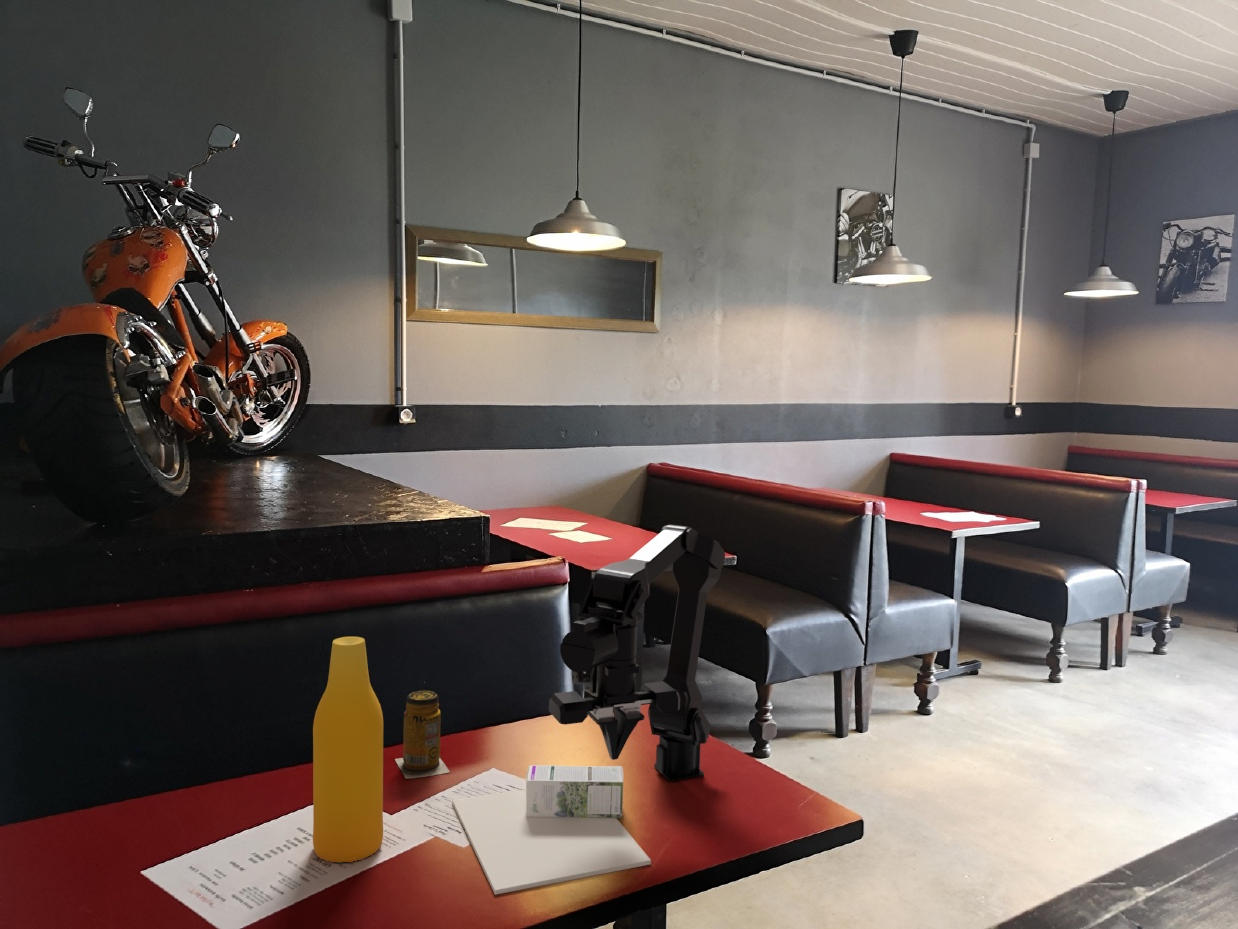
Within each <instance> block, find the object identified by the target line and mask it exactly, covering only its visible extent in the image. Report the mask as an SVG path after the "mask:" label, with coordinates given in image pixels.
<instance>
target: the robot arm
mask: <svg viewBox="0 0 1238 929" xmlns="http://www.w3.org/2000/svg"><path fill="white" fill-rule="evenodd" d="M725 560H726V553H725V550H724V548H723V547H722V546H721V544H720V542H718V541H717V540H713V539H711V538H709V537H707V536H705V535H702V534H701V533H699V532H697V531H696V530H695V529H694V528H692V527H690V526H684V525H677V524H668V525H664V526H662V528H661V529H660V532H659V533H658V534H657V535H656V536H655V537H654V538H652V539H651V540H650V541H649V542H648V543H646V544H645V545H644V546H642V547H641V548H640V549H639V550H638V551H636V552H635V553H634V554H633V555H631V557H629V558H628V559H626V560H622V561H616V562H611V563H609V564H608V565H604V566H603V567H601V568H599V569H598V570H597V571H596V572H595V574H594V576H593V577H592V579H591V581H590V584H589V586H588V588H587V591H586V593H585V596H584V599H583V601H582V602H581V606H580V608H579V610H578V614H577V617H578V618H581V619H583V620H576V621H574V622H573V623H572V630H571V631H569V632H567V633H566V634H565V635H564V637H563V638H562V640H561V643H560V644H559V651H560V652H559V653H560V657H561V659H562V661H563V664H564V665H565V666H566V667H567V668H568V670H571V680H572V684H574V685H577V684H583V689H584V690H588V689H589V692H590V693H591V694H595V696H591V697H582V696H581V694H579V693H578V692H577V691H576V690H573V691H563V692H554V693H553V694H552V695H551V697H550V698H549V700H548V712H549V713H550V714H551V715H552V717H554V719H555V720H556V721H557V722H558V724H560V725H564V726H567V725H572V724H573V725H574V724H580V723H583V722H584V721H585V720H586V719H587V717H589V718H590V719H591V720H592V721H593V722H594V723H595V724H596V725H598V726H599V728H600V731H601V734H602V736H603V739H604V742H605V747H606V749H607V752H608V755H609V758H610V759H611V760H612V761H615V760H618V759H619V756H620V755H621V753H622V751H623V750H624V747H625V745H626V744H627V742H628V739H629V737H630V736H631V734H632V732H633V731H634V729H635V728H636V726H638V723H639V722H641V721H644V720H645V715H644V714H643V713H642V711H641V710H642V706H646V705H649V706H648V710H647V713H648V719H649V725H650V731H651V735H654V736H659V739H658V741H659V742H658V744H657V745H656V748H655V749H656V752H655V753H656V754H655V755H656V757H655V758H656V759H655V763H654V765H653V767H654V768H655V769H656V770H657V771H658V772H659V773H660V774H661V775H662V776H663V777H664V778H665V779H666V780H667V781H668V782H675V781H682V780H688V779H689V780H690V779H696V777H697V778H702V777H704V776H705V772H704V771H702V770H701V744H702V745H703V744H707V743H708V738H709V736H710V734H711V723H710V722H709V720H708V719H707V716H706V715H705V714H704V713H703V711H702V708H703V707H702V706H703V697H702V694H701V692H700V689H699V686H698V684H697V682H696V676H697V669H698V661H699V655H700V650H701V649H700V648H701V642H702V634H703V627H704V622H705V621H704V620H705V613H706V606H707V600H708V595H709V594H708V593H709V592H710V591H711V590H712V589H713V587H715V585H716V584H717V583H718V581H719V580H720V577H721V573H722V568H723V567H724V565H725V563H726V562H725ZM670 566H672V567H671V572H672V573H671V574H672V575H673V578H674V580H675V582H676V585H677V588H678V594H677V600H676V605H675V606H676V607H675V613H674V618H673V619H674V620H673V626H672V627H673V628H672V633H671V639H670V640H671V641H670V646H669V652H668V653H669V654H668V658H667V665H666V666H667V667H666V672H665V676H664V677H663V679H662V680H660V681H655V682H647V683H646V682H645V683H643V684H641V687H640V691H636V674H638V673H640V665H638V664H637V640H638V639H637V637H638V636H637V631H638V622H640V621H642V620H644V617H645V616H644V614H643V613H642V612H640V609H641V608H642V606H643V605H644V603H645V602H646V601H647V599H648V598H649V597H650V586H651V585H652V584H653V582H654V581H655V580H656V579H657V578H658V577H659V576H661V575H662V574H663V573H664V572H665V571H666V570H668V569H669V568H670ZM597 606H598V607H597ZM615 610H616V611H615Z"/></svg>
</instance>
